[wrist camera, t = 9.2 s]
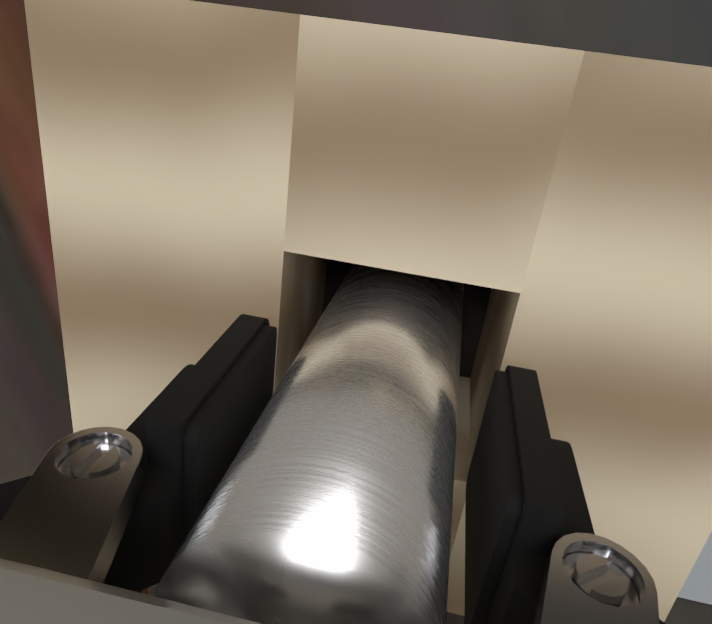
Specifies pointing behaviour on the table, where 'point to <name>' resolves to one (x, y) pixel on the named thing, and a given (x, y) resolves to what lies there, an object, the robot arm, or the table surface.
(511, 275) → the hole block
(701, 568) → the mat
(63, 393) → the table surface
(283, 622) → the peg
